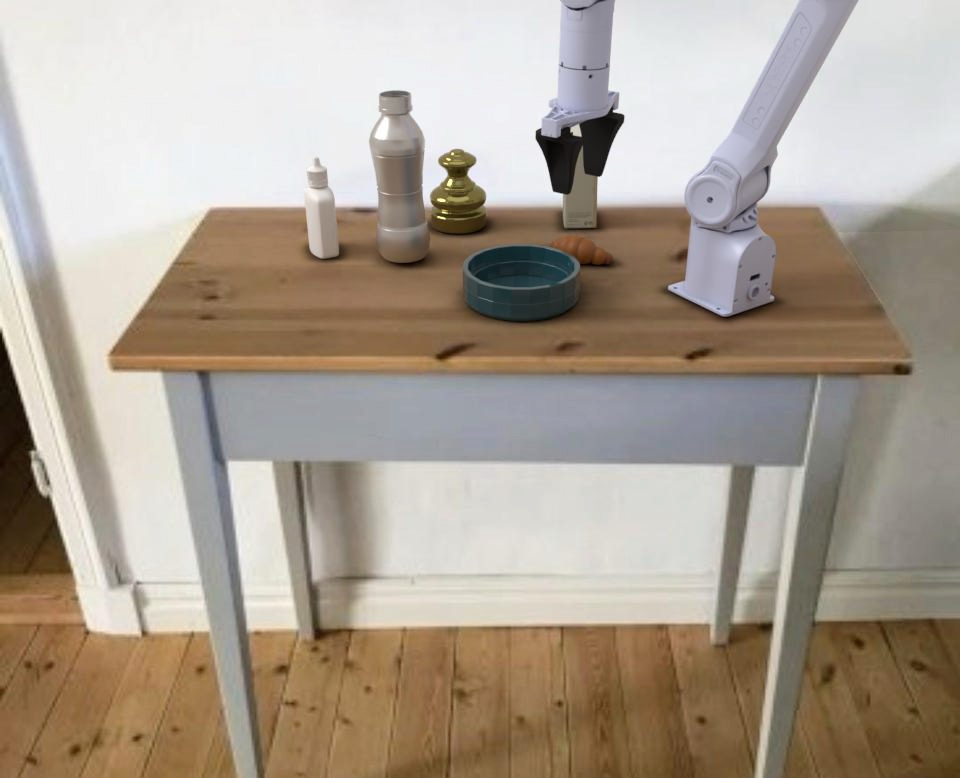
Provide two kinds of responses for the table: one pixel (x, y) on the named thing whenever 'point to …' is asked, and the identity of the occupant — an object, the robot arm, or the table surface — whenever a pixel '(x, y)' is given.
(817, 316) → the table surface
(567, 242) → the croissant
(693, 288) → the robot arm
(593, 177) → the cosmetic box
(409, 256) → the plastic bottle
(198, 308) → the table surface
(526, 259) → the bowl
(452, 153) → the gold tiered knob
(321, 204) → the eye dropper bottle
